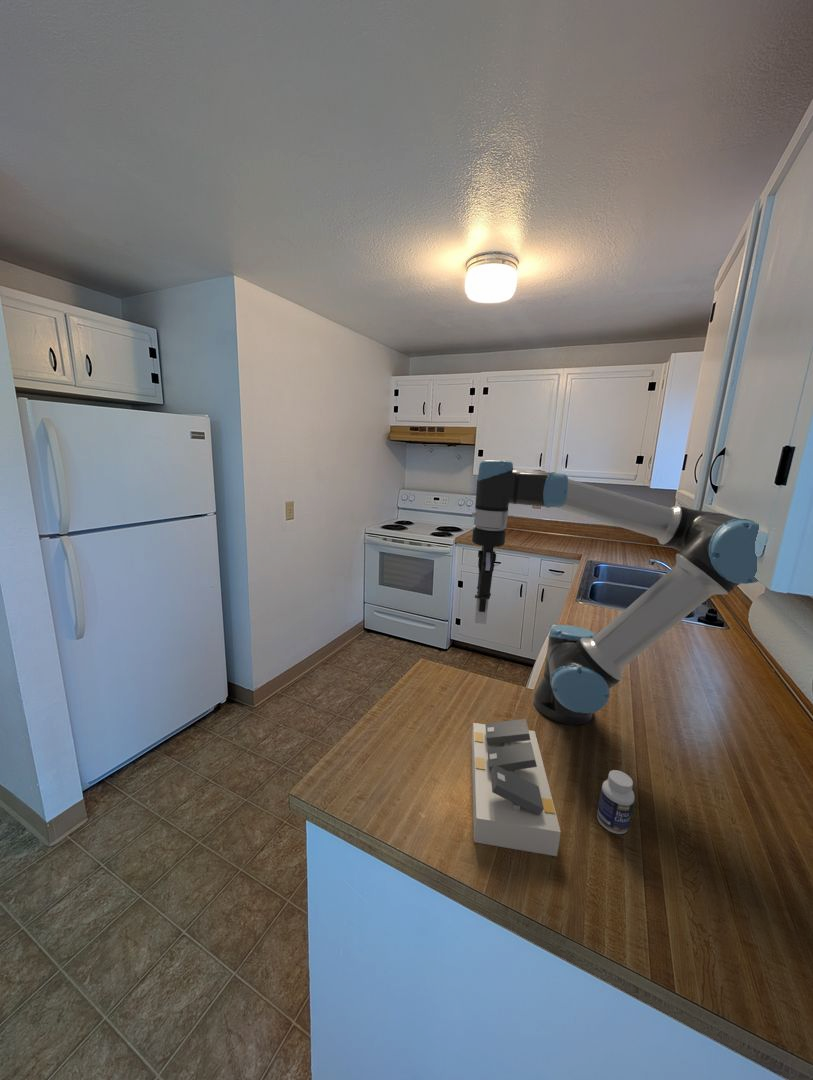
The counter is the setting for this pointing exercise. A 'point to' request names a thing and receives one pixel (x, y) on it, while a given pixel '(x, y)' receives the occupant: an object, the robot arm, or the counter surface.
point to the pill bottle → (616, 802)
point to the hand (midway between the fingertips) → (480, 622)
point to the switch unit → (511, 804)
